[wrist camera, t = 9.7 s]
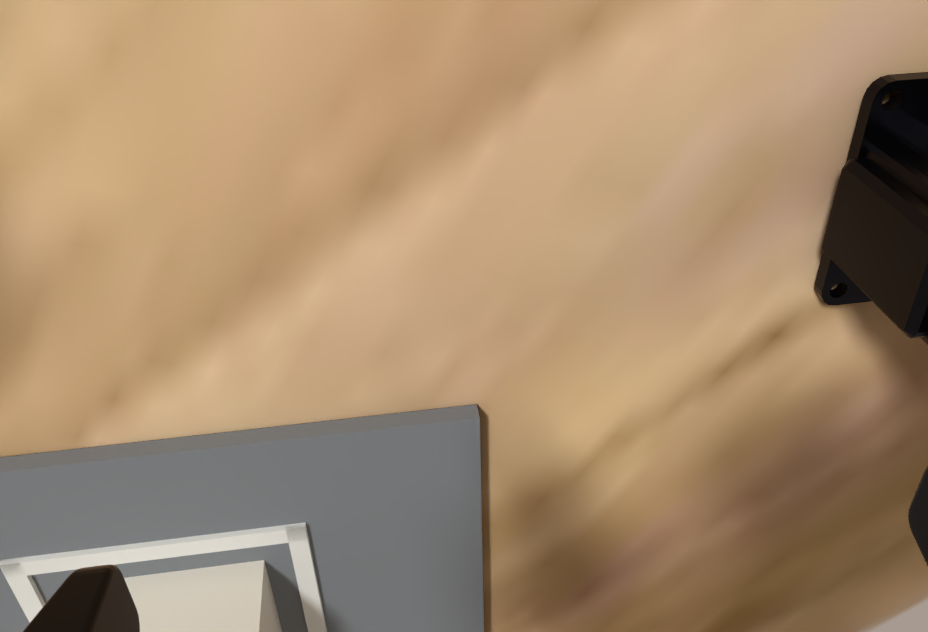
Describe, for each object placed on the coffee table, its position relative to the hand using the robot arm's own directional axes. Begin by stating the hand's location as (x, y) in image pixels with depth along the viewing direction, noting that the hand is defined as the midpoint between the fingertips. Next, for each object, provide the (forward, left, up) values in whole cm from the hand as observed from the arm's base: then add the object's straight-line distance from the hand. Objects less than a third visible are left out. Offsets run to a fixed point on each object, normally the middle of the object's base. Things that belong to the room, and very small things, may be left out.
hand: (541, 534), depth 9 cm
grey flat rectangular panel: (+7, +15, -12) cm, 21 cm away
